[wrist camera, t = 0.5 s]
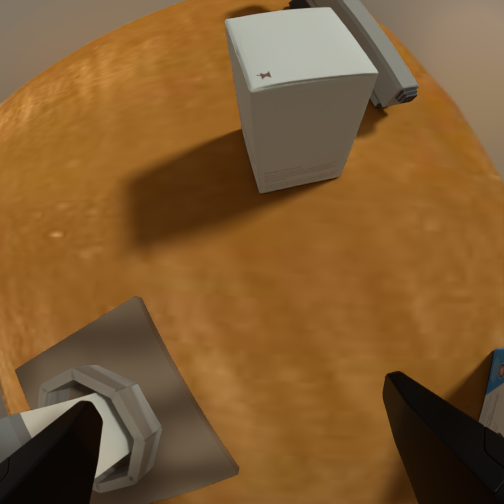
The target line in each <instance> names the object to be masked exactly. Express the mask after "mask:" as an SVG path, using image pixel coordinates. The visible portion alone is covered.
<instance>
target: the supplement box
mask: <svg viewBox="0 0 504 504" xmlns="http://www.w3.org/2000/svg"><path fill="white" fill-rule="evenodd" d="M225 29H226V36H227V43H228V50H229V55H230V61H231V67H232V72H233V78H234V84H235V90H236V96H237V102H238V108H239V115H240V121H241V128H242V132H243V136H244V140H245V144H246V148H247V152H248V156H249V159H250V163H251V166H252V170H253V173H254V177H255V180H256V183H257V187H258V190H259V193H266V192H270V191H275V190H279V189H284V188H288V187H293V186H298V185H303V184H307V183H312V182H317V181H322V180H326V179H331V178H336V177H339V176H341V174H342V171H343V169H344V166H345V164H346V161H347V158H348V156H349V153H350V150H351V148H352V145H353V142H354V140H355V137H356V134H357V131H358V129H359V126H360V123H361V121H362V118H363V115H364V112H365V109H366V107H367V104H368V101H369V98H370V95H371V92H372V89H373V87H374V84H375V81H376V78H377V75H378V71H377V69H376V68H375V67H374V65H373V64H372V62H371V61H370V59H369V58H368V56H367V55H366V54H365V52H364V51H363V49H362V48H361V47H360V45H359V44H358V42H357V41H356V40H355V38H354V37H353V36H352V34H351V33H350V32H349V30H348V29H347V28H346V26H345V25H344V24H343V23H342V21H341V20H340V19H339V17H338V16H337V15H336V14H335V12H334V11H333V10H332V9H331V8H330V7H322V8H304V9H292V10H282V11H274V12H267V13H260V14H254V15H248V16H243V17H237V18H231V19H226V20H225Z"/></svg>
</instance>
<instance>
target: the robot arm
mask: <svg viewBox="0 0 504 504" xmlns="http://www.w3.org/2000/svg"><path fill="white" fill-rule="evenodd" d="M383 401H384V404H385V408H386V411H387V415H388V419H389V422H390V426H391V430H392V434H393V437H394V441H395V443H396V446H397V449H398V451H399V454H400V456H401V459H402V461H403V464H404V466H405V469H406V471H407V474H408V477H409V479H410V482H411V485H412V487H413V490H414V493H415V495H416V498H417V501H418V503H419V504H504V437H503V436H501V435H499V434H498V433H496V432H494V431H493V430H491V429H489V428H488V427H486V426H485V427H484V425H483V424H481V423H480V422H478V421H477V420H475V419H473V418H472V417H470V416H469V415H467V414H466V413H464V412H462V411H461V410H459V409H458V408H456V407H455V406H453V405H452V404H450V403H448V402H447V401H445V400H444V399H442V398H441V397H439V396H438V395H436V394H435V393H433V392H431V391H430V390H428V389H427V388H425V387H424V386H422V385H421V384H419V383H418V382H416V381H415V380H413V379H411V378H410V377H408V376H407V375H405V374H404V373H402V372H401V371H395V372H392V373H388V374H387V375H386V376H385V382H384V388H383ZM102 428H103V419H102V417H101V415H100V413H99V412H98V410H97V409H96V407H95V405H94V404H93V403H92V402H91V401H85V400H81V401H79V402H77V403H76V404H75V405H73V406H72V407H71V408H70V409H68V410H67V411H66V412H65V413H63V414H62V415H61V416H60V417H58V418H57V419H56V420H54V421H53V422H52V423H51V424H49V425H48V426H47V427H46V428H44V429H43V430H42V431H41V432H39V433H38V434H37V435H35V436H34V437H33V438H32V439H30V440H29V441H28V442H27V443H25V444H24V445H23V446H21V447H20V448H19V449H18V450H16V451H15V452H14V453H13V454H11V455H10V456H9V457H7V458H6V459H5V460H4V461H2V462H1V463H0V504H90V499H91V494H92V489H93V484H94V479H95V475H96V470H97V465H98V459H99V452H100V443H101V436H102Z"/></svg>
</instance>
